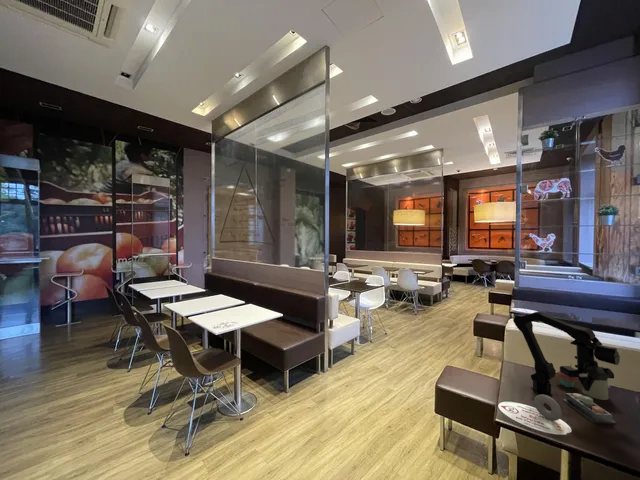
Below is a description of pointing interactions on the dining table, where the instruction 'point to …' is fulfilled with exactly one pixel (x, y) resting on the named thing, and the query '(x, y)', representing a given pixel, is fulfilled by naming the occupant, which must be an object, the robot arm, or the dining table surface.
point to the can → (598, 390)
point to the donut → (551, 415)
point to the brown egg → (597, 409)
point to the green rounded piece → (587, 401)
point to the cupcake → (566, 379)
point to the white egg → (577, 396)
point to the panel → (588, 410)
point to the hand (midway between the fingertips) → (586, 390)
